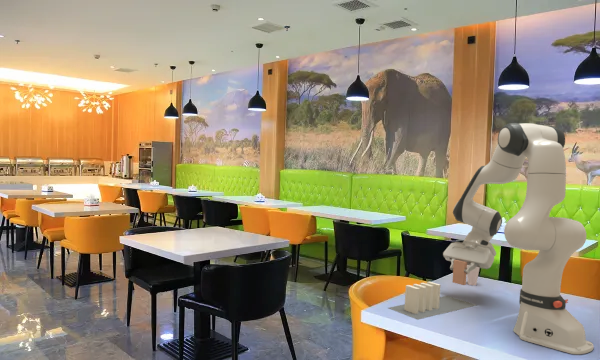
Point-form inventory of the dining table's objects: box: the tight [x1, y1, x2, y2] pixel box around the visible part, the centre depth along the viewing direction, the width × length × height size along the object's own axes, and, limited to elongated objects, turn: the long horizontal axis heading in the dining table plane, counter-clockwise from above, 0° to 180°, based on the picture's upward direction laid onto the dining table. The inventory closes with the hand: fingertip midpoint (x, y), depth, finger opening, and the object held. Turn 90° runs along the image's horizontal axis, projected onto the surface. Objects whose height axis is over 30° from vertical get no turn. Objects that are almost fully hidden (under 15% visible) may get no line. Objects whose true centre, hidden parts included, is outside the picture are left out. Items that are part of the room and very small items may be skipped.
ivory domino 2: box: [412, 283, 427, 312], centre depth 165 cm, size 2×5×9 cm, turn 36°
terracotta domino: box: [452, 260, 467, 286], centre depth 178 cm, size 2×5×9 cm, turn 36°
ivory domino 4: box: [426, 281, 442, 309], centre depth 169 cm, size 2×5×9 cm, turn 36°
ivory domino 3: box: [419, 282, 434, 311], centre depth 167 cm, size 2×5×9 cm, turn 36°
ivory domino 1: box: [404, 284, 420, 314], centre depth 162 cm, size 2×5×9 cm, turn 36°
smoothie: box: [466, 265, 481, 286], centre depth 210 cm, size 6×6×14 cm
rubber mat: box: [388, 295, 478, 321], centre depth 170 cm, size 14×36×1 cm, turn 126°
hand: (458, 270), depth 178 cm, fingers closed on terracotta domino, 5 cm apart
